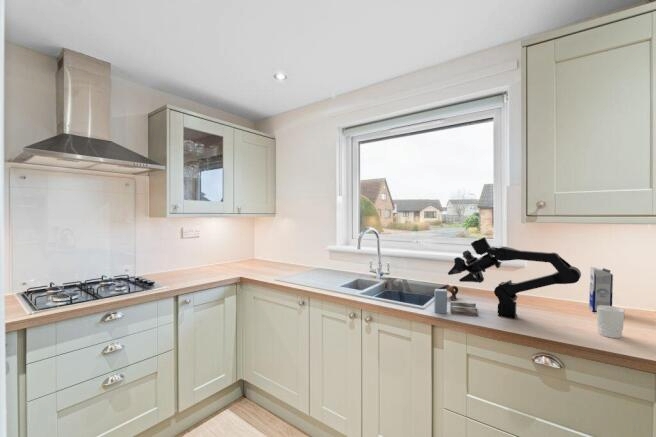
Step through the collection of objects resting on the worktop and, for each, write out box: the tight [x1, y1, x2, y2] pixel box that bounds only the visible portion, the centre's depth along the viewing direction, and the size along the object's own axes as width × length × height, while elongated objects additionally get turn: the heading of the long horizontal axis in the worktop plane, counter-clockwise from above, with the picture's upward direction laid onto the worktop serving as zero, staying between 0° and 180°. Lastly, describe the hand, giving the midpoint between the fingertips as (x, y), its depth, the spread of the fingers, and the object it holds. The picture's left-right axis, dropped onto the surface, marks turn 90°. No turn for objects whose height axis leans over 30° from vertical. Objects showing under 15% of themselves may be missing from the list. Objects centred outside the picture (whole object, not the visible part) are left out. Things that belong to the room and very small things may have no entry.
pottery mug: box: [437, 284, 459, 301], centre depth 171 cm, size 12×10×8 cm
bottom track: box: [449, 300, 478, 316], centre depth 149 cm, size 11×8×3 cm
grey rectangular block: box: [433, 288, 448, 314], centre depth 148 cm, size 5×4×10 cm
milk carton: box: [588, 266, 614, 313], centre depth 148 cm, size 7×7×20 cm
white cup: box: [596, 305, 626, 339], centre depth 122 cm, size 8×8×10 cm
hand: (453, 277), depth 158 cm, fingers open, 9 cm apart
